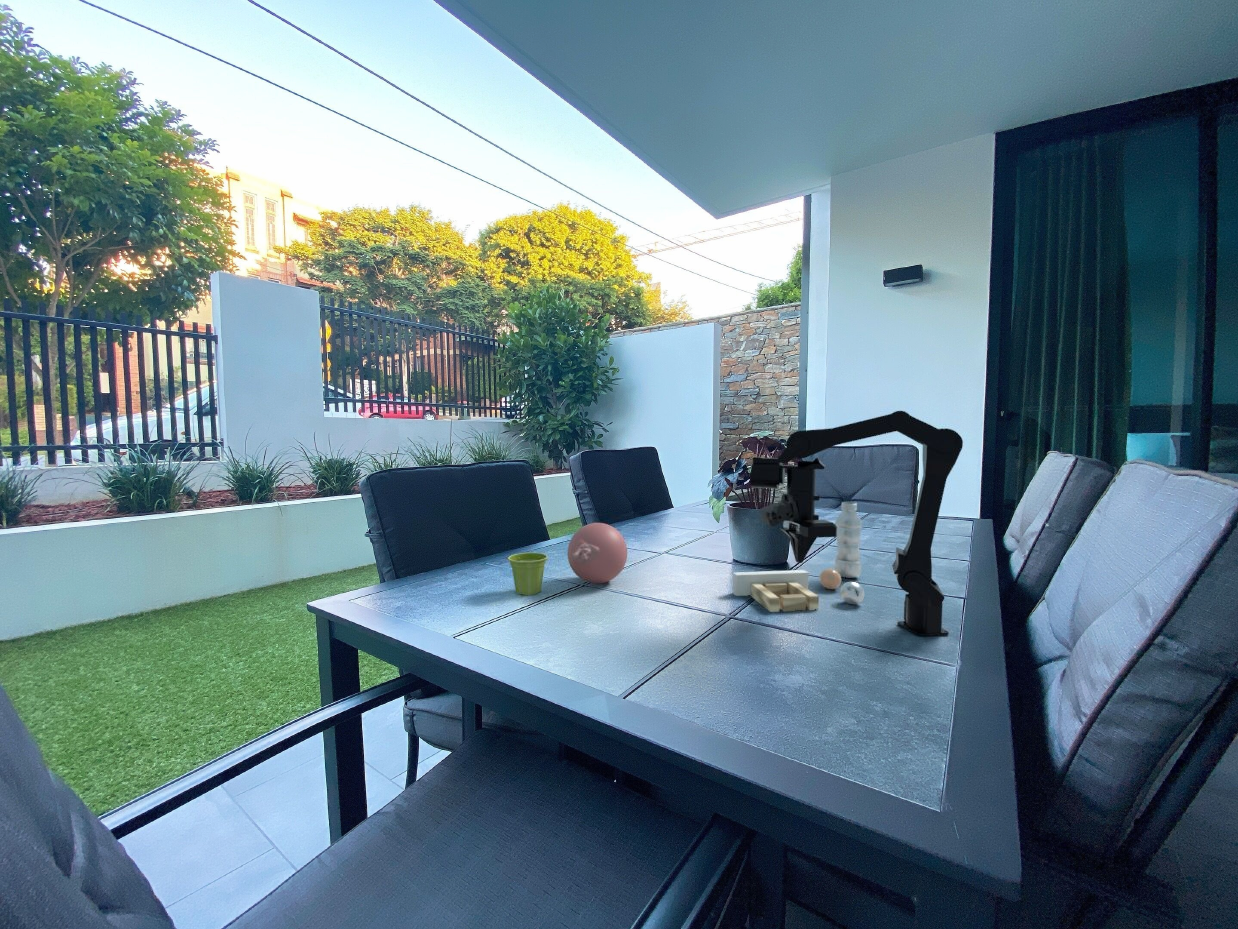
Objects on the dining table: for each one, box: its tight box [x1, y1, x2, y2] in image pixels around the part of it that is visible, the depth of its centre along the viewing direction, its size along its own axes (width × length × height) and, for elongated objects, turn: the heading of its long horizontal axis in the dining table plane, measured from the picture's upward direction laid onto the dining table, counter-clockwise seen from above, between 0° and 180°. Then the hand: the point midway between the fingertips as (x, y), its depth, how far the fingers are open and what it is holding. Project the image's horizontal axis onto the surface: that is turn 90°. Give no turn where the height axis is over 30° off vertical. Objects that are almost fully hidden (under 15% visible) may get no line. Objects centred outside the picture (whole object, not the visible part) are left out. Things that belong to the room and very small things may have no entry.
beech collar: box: [750, 582, 820, 613], centre depth 117 cm, size 11×11×3 cm
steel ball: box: [839, 581, 865, 605], centre depth 116 cm, size 5×5×5 cm
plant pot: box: [507, 552, 549, 596], centre depth 125 cm, size 9×9×9 cm
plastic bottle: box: [833, 501, 863, 579], centre depth 137 cm, size 6×7×20 cm
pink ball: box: [567, 522, 628, 584], centre depth 130 cm, size 15×20×15 cm
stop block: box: [732, 569, 810, 597], centre depth 124 cm, size 2×18×5 cm, turn 97°
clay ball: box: [819, 568, 842, 590], centre depth 127 cm, size 5×5×5 cm
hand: (799, 562), depth 110 cm, fingers closed
